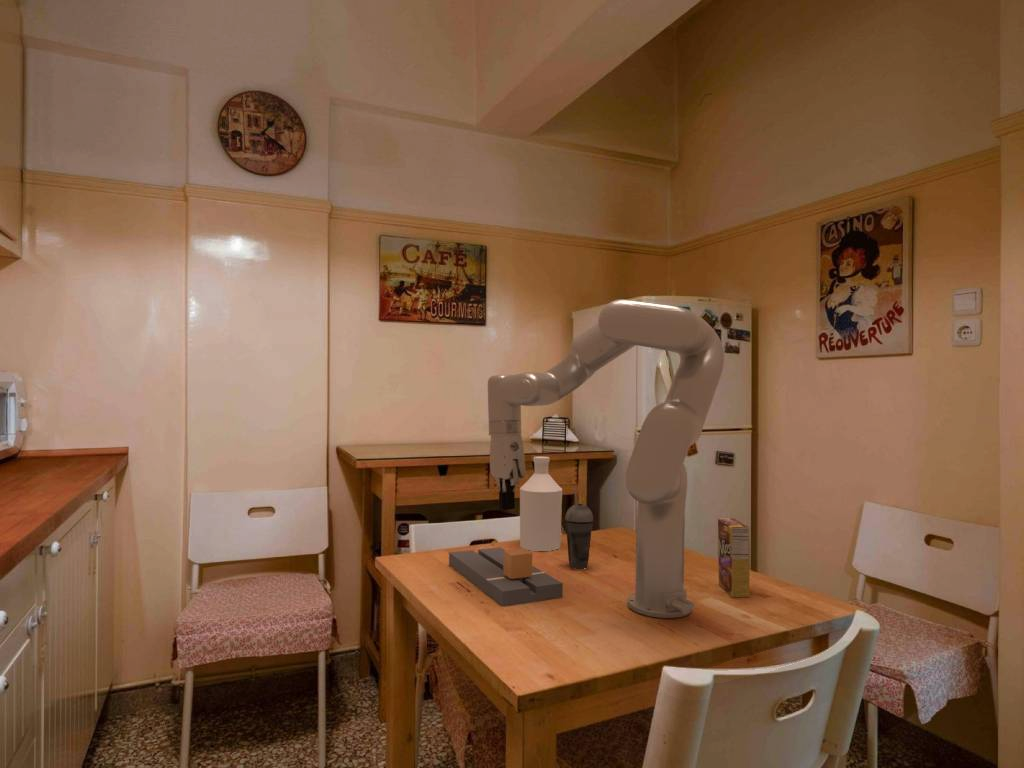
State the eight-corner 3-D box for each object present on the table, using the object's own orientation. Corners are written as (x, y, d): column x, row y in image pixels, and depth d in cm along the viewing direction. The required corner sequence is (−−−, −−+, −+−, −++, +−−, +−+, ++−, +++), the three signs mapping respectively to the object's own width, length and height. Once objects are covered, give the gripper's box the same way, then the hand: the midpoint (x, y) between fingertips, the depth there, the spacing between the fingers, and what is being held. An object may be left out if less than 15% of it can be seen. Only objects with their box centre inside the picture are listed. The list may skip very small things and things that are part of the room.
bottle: (557, 553, 164) (559, 460, 164) (514, 550, 167) (516, 458, 167) (564, 543, 176) (565, 456, 176) (524, 540, 178) (525, 454, 179)
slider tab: (531, 583, 132) (532, 553, 132) (510, 586, 130) (511, 555, 130) (523, 578, 136) (524, 548, 136) (503, 581, 133) (503, 550, 134)
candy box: (716, 584, 139) (717, 517, 140) (735, 585, 139) (736, 517, 140) (730, 597, 130) (730, 526, 131) (750, 598, 130) (751, 526, 131)
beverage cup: (594, 571, 148) (596, 488, 148) (564, 570, 148) (565, 488, 148) (591, 563, 155) (592, 484, 155) (562, 562, 155) (564, 483, 156)
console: (562, 597, 129) (562, 582, 129) (502, 606, 123) (502, 590, 123) (500, 558, 158) (500, 546, 158) (448, 564, 152) (449, 552, 152)
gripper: (534, 428, 135) (536, 512, 135) (506, 427, 149) (508, 503, 148) (503, 430, 132) (505, 515, 131) (477, 428, 145) (479, 506, 145)
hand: (507, 508), depth 140 cm, fingers closed
